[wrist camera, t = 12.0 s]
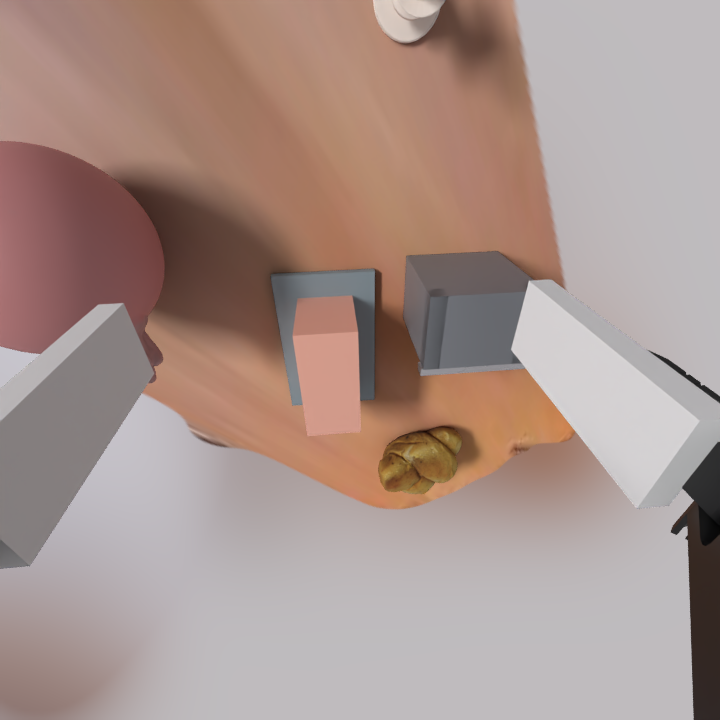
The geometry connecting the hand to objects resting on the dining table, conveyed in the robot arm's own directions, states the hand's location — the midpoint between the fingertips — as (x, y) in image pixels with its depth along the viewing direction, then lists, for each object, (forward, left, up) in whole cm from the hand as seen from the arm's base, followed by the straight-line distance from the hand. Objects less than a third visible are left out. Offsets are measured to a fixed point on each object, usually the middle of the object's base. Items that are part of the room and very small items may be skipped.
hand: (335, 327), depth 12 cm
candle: (-13, +7, -27) cm, 31 cm away
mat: (+17, -1, -27) cm, 32 cm away
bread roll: (+37, +11, -27) cm, 47 cm away
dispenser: (+11, +13, -27) cm, 31 cm away
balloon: (+5, -21, -27) cm, 34 cm away
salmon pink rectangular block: (+17, -1, -26) cm, 31 cm away
